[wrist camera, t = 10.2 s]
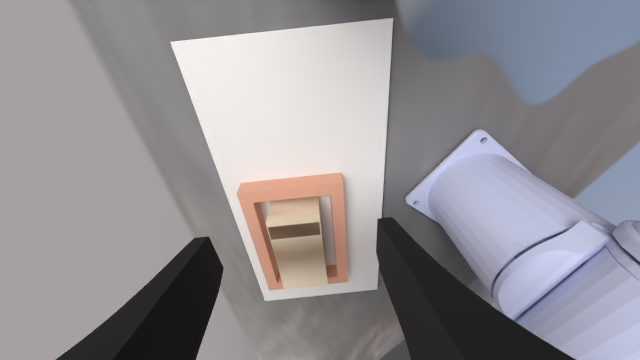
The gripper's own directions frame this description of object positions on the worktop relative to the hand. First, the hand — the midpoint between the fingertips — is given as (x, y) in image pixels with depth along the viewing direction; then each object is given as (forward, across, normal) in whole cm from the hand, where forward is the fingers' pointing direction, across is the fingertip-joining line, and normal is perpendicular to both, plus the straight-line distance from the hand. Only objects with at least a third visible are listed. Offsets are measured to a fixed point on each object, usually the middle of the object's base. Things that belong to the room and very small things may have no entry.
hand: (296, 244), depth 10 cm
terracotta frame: (+9, +1, +8) cm, 12 cm away
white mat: (+9, 0, +5) cm, 11 cm away
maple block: (+9, +1, +8) cm, 12 cm away
